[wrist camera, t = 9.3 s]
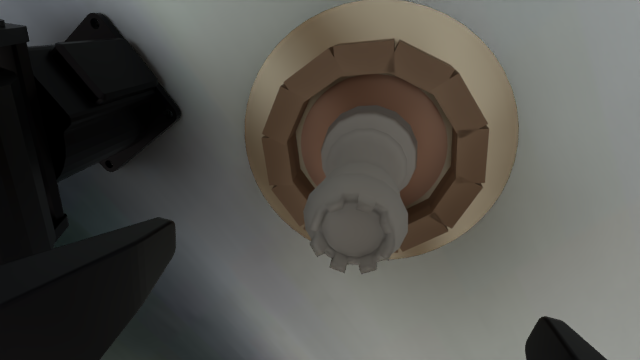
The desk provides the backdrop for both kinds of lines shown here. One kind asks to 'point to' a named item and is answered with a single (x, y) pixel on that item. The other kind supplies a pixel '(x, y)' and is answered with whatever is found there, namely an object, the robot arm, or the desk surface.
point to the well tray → (394, 94)
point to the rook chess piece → (362, 188)
